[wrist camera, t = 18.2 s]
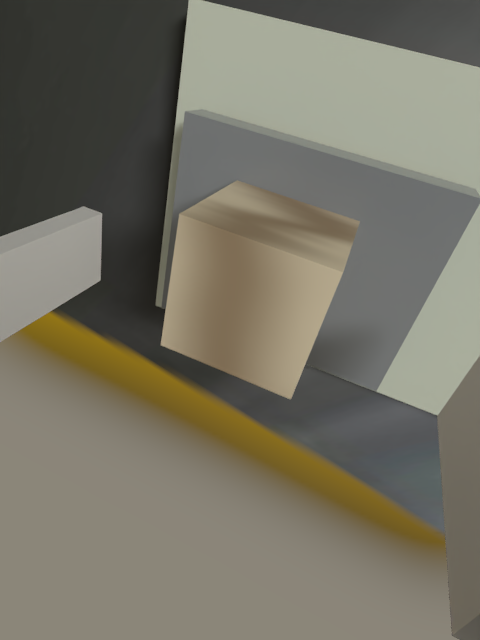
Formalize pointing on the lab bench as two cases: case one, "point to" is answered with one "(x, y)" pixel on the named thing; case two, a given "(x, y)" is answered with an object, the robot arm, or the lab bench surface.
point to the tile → (347, 200)
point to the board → (353, 148)
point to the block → (254, 283)
